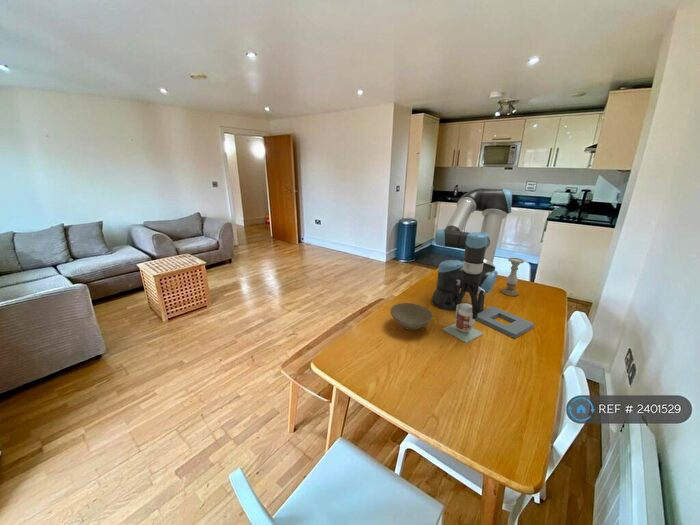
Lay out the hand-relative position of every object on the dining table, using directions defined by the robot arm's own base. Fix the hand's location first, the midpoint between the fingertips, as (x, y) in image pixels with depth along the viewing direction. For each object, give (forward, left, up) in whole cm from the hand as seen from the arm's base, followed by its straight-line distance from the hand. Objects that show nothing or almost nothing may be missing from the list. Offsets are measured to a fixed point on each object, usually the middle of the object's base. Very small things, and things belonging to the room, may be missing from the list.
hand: (464, 320), depth 120 cm
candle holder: (-11, +57, -6) cm, 58 cm away
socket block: (+5, +22, -5) cm, 23 cm away
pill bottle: (0, 0, -4) cm, 4 cm away
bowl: (-15, -17, -6) cm, 24 cm away
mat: (0, 0, -5) cm, 5 cm away
